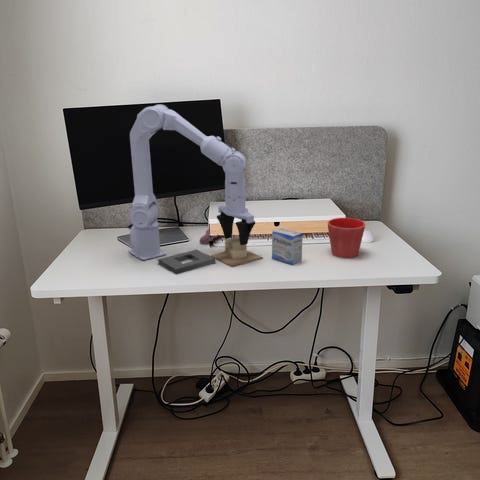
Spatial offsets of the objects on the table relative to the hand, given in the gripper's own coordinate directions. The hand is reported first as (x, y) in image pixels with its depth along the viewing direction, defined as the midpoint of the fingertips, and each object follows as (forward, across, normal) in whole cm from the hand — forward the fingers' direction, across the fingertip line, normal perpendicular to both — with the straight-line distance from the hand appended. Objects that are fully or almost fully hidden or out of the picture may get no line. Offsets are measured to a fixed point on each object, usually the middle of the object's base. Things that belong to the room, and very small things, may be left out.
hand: (235, 241), depth 148 cm
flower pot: (+5, -18, -27) cm, 33 cm away
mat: (+5, 0, 0) cm, 5 cm away
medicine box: (+5, -11, -10) cm, 16 cm away
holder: (+5, +5, +14) cm, 16 cm away
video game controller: (+6, +18, -4) cm, 19 cm away
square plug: (+5, 0, 0) cm, 5 cm away
